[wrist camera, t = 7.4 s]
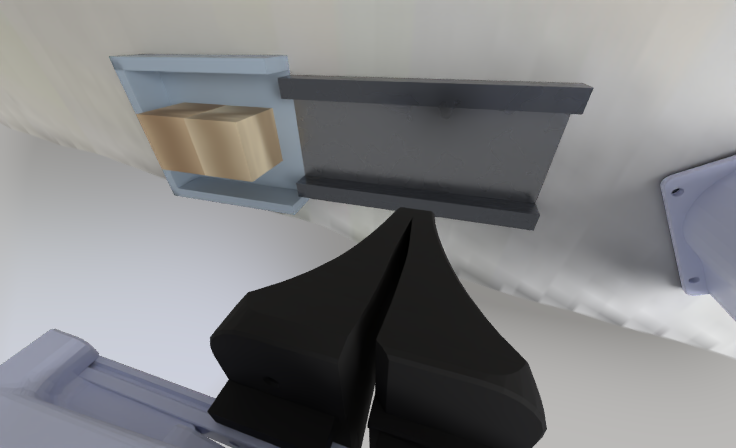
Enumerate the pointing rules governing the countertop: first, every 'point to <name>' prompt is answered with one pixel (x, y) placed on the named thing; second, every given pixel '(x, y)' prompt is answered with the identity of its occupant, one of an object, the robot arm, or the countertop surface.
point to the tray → (224, 87)
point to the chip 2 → (235, 141)
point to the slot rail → (431, 142)
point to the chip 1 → (174, 136)
